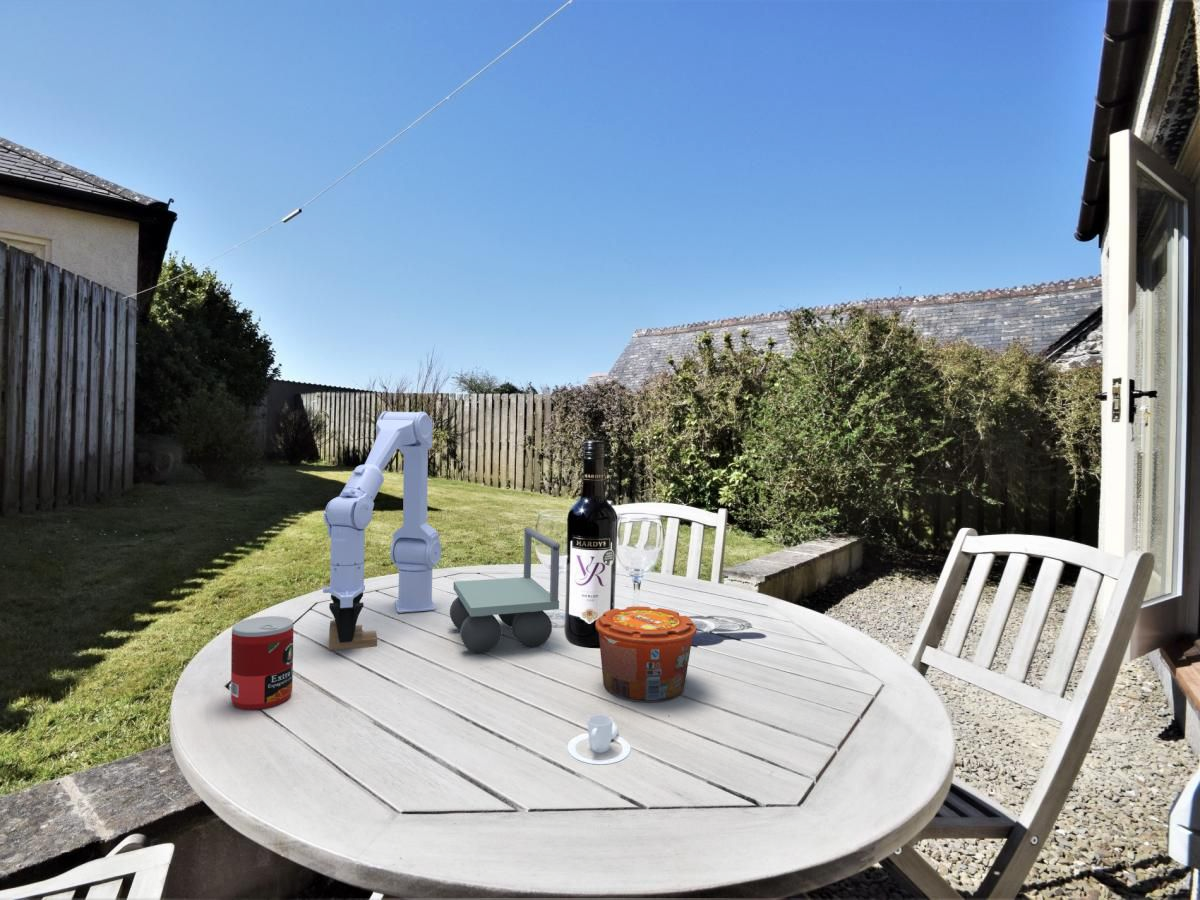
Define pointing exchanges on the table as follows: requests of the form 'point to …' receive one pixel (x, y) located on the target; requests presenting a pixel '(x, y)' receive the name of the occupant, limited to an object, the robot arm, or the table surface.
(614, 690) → the food container
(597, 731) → the teacup and saucer
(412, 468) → the robot arm
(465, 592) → the trolley
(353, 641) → the block
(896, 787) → the table surface
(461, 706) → the table surface
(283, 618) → the canned food
